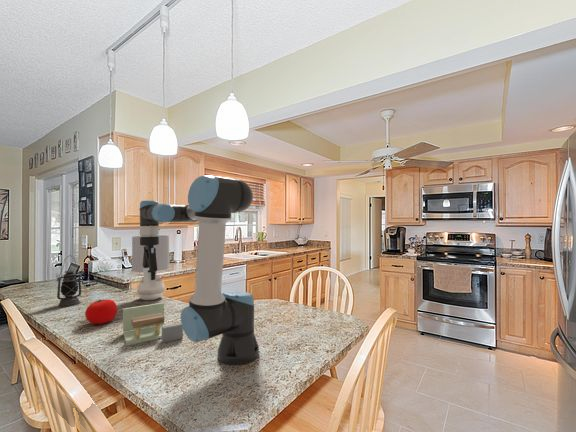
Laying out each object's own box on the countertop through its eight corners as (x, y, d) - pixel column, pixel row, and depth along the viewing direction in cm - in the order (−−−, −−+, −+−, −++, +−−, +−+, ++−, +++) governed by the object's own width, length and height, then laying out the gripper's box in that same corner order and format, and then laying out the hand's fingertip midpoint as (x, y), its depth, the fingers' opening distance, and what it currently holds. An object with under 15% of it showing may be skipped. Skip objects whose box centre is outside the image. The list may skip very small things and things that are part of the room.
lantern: (78, 300, 186) (78, 253, 186) (84, 303, 179) (85, 254, 180) (53, 305, 175) (54, 255, 176) (60, 308, 169) (60, 256, 170)
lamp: (127, 298, 190) (128, 236, 190) (162, 292, 204) (162, 235, 205) (138, 305, 174) (138, 237, 174) (174, 298, 188) (174, 236, 189)
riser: (182, 338, 124) (182, 324, 124) (162, 343, 120) (162, 328, 120) (181, 336, 126) (181, 322, 126) (161, 341, 122) (161, 326, 122)
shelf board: (164, 322, 127) (164, 316, 127) (133, 328, 120) (133, 322, 120) (161, 318, 132) (161, 313, 132) (131, 324, 125) (131, 318, 125)
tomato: (121, 322, 145) (121, 299, 145) (88, 329, 135) (88, 305, 135) (113, 316, 154) (113, 294, 154) (81, 323, 144) (81, 300, 144)
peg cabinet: (171, 336, 127) (171, 310, 127) (126, 345, 118) (126, 318, 118) (163, 325, 140) (163, 302, 140) (122, 333, 130) (123, 308, 131)
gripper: (164, 236, 120) (165, 288, 119) (153, 235, 140) (153, 279, 140) (144, 237, 115) (144, 291, 115) (135, 235, 136) (135, 281, 135)
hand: (149, 284), depth 127 cm, fingers open, 13 cm apart
